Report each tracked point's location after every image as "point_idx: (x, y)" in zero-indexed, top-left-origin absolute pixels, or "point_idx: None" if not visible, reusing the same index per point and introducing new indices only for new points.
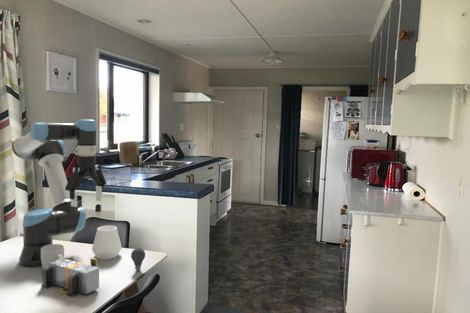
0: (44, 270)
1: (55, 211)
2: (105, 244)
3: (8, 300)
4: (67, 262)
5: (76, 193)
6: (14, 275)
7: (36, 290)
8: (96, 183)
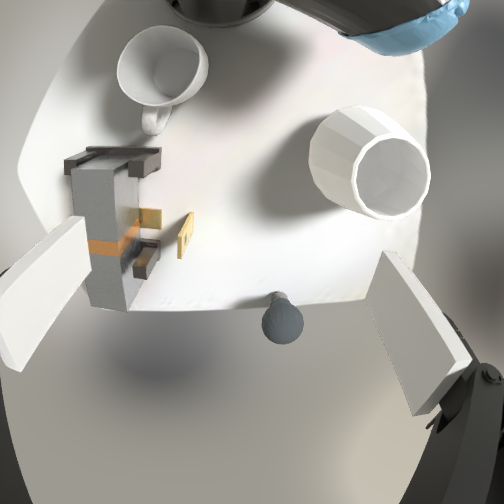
0: (64, 169)
1: None
2: (326, 187)
3: (29, 145)
4: (100, 215)
5: (26, 353)
6: (109, 22)
7: (74, 152)
8: (464, 408)
